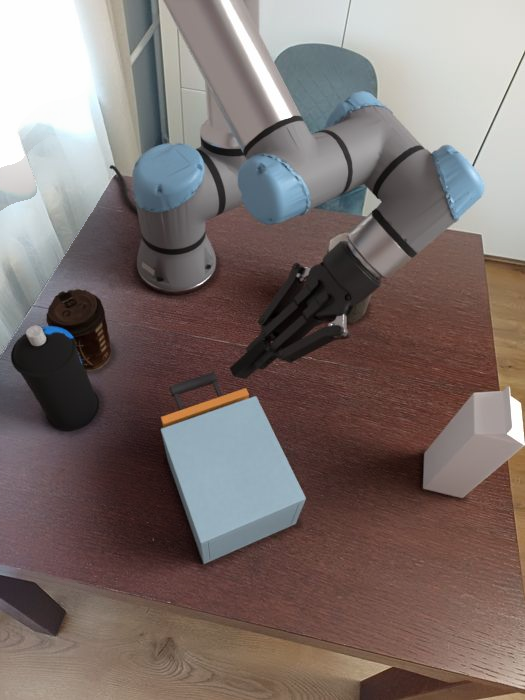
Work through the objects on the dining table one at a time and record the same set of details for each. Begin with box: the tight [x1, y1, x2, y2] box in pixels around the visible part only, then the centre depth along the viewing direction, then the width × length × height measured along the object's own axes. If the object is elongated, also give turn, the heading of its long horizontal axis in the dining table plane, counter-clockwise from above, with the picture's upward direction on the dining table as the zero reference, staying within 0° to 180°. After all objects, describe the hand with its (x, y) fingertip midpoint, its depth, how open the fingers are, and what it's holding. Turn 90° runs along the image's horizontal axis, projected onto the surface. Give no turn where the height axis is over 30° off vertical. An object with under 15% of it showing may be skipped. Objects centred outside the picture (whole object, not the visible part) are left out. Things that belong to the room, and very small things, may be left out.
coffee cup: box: [46, 288, 112, 372], centre depth 79 cm, size 9×8×13 cm
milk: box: [422, 385, 525, 499], centre depth 67 cm, size 6×6×22 cm
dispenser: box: [160, 395, 307, 565], centre depth 68 cm, size 16×14×11 cm
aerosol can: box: [10, 324, 100, 432], centre depth 70 cm, size 8×8×20 cm
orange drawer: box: [160, 371, 250, 428], centre depth 71 cm, size 20×13×9 cm, turn 24°
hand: (237, 373), depth 71 cm, fingers closed
